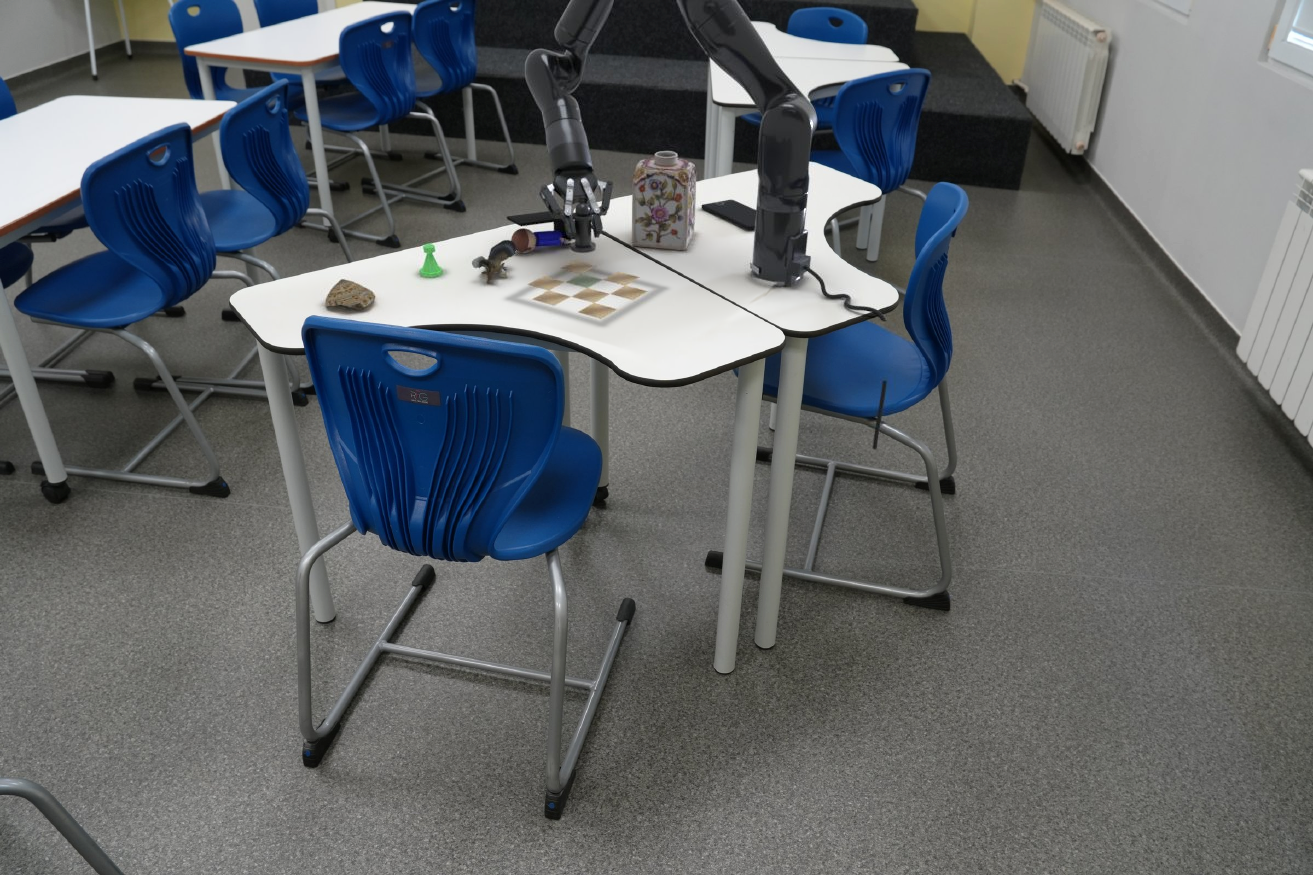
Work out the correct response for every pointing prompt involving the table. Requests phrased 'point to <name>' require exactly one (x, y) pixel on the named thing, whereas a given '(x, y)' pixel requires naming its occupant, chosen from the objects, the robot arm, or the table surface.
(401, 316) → the table surface
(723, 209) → the cell phone
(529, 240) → the figurine character
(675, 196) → the decorative jar
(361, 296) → the brown rock
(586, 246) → the black chess piece
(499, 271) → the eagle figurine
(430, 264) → the game piece
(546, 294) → the chess board
